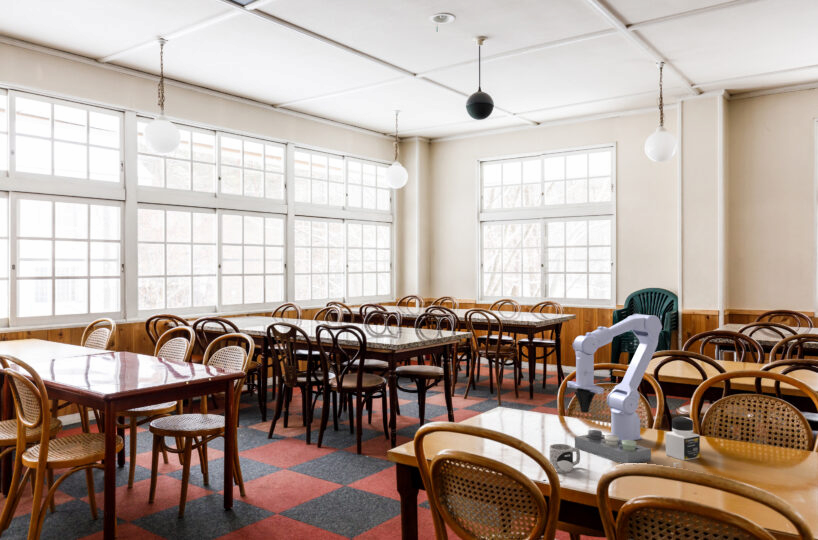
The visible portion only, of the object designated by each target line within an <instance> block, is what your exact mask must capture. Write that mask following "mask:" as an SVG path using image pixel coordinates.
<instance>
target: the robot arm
mask: <svg viewBox="0 0 818 540" xmlns="http://www.w3.org/2000/svg"><path fill="white" fill-rule="evenodd" d="M662 328H663V325H662V322H661V320H660V318H659V317H658V316H657V315H654V314H653V315H648V314H641V313H633V314H632V315H629V316H627V317H626V318H625V319H623V320H621V321H619V322H617V323H614V324H613V325H611V326H610V327H606V326H601V325H600V326H597V329H595V330H593V331H592V332H586V333H585V335H578V336H576V337H575V339H574V340H573V342H572V348H573V350H574V352H575V378H576V379H575V381H571V380H569V381H566V382H567V383H566V384H567V385H566V387H567V388H571V389H576V390H574V391H573V393H574V395H575V397H576V399H577V401H578V405H579V407H580V412H581V413H584V414H585V413H588V412H589V411H590V407H591V403H592V401H593V398H594V397H595V396H596V394H597V395H602V394H604V387H601V386H599V385H596V384H595V382H594V376H595V375H594V373H595V371H594V370H595V369H594V368H595V367H594V366H595V363H594V361H595V360H594V359H595V358H594V357H595V355H594V354H595V353H596V352H597V350H598V349H599V348H602V347H604V346H606V345H607V344H610V343H612V342H613V339H614V337H616V336H619V335H621V334H624V333H627V332H629V331H632V332H633V334H634V335H635V337H636V338H637V340H638V341H639V344H638V347H636V350H635V352H634V354H633V357H632V359H631V361H630V363H629V365H628V367H627V370H626V371H625V374H624V376H623V379H622V381H621V382H620V383H618V384H616V385H614V388H613V389H612V390H611V392H609V393H608V395H607V397H606V405H607V407H608V408H609V409H610V410H609V411H610V413H611V414H610V415H611V416H610V417H611V418H610V419H611V424H610V426H611V427H610V428H611V429H610V430H611V434H610V435H616V436H618V437H619V440H633V441H636V440H641V439H643V437H642V436H641V419H640V416H639V414H638V413H637V412H636V411H637V410H638V407H639V400H640V398H641V396H640V393H639V391H638V387H639V386H640V384H641V382H642V379H643V377H644V375H645V373H646V371H647V369H648V366H649V364H650V362H651V360H652V358H653V356H654V353H655V351H656V349H657V347H658V345H659V344H658V343H659V336H660V333H661V331H662Z"/></svg>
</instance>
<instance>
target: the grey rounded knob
mask: <svg viewBox="0 0 818 540" xmlns="http://www.w3.org/2000/svg"><path fill="white" fill-rule="evenodd" d="M602 433H603V432H602V431H601V430H599V429H589V430H588V432H587V435H589V438H590V439H593V440H599V439H601V436H602V435H603V434H602Z"/></svg>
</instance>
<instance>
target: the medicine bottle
mask: <svg viewBox="0 0 818 540" xmlns="http://www.w3.org/2000/svg"><path fill="white" fill-rule="evenodd" d="M700 442H701V437H700V434H698V433H694V420H693V419H691V418H690V417H686V416H674V417H673V418H672V419H671V431H667V432H666V433H665V455H666V456H669V457H672V458H675V459H678V460H680V461H684V462H685V461H689V460H694V459H699V458H700V456H701V452H700V451H701V449H700V448H701V446H700V445H701V443H700Z"/></svg>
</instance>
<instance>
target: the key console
mask: <svg viewBox="0 0 818 540" xmlns="http://www.w3.org/2000/svg"><path fill="white" fill-rule="evenodd" d="M605 435H606V434H602V436H601V439H599V440H593V439H590V438H589V435H588V434H584V435H579V436H578V435H577V436H574V448H578V449H579V450H581V451H584V452H586V453H590V454H593V455H595V456H597V457H602V458H605V459H607V460H610V461H613V462H616V463H620V462H621V463H620V464H622V463H637V464H641V463H645V462H650V461H652V449H651V448H649V447H645V446H642V445H639V444H636V447H635V450H633V451H628V450H625V449H623V446H622V440H619V441H618V444H617V445H609V444H606V441H605Z"/></svg>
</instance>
